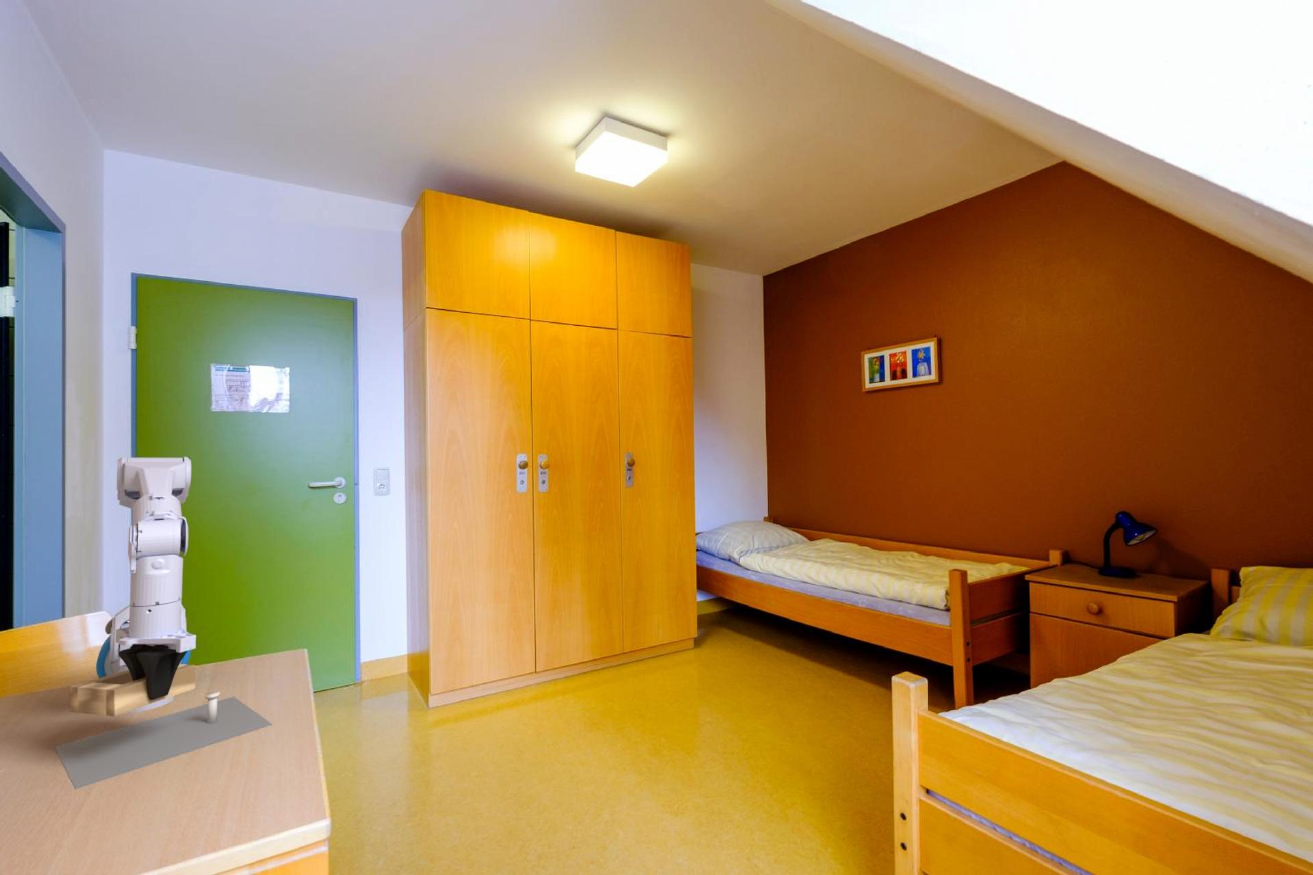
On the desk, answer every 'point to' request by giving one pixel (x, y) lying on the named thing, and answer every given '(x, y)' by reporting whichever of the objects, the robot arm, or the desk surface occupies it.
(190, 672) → the oak frame
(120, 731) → the slate board
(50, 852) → the desk surface
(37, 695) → the desk surface
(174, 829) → the desk surface
